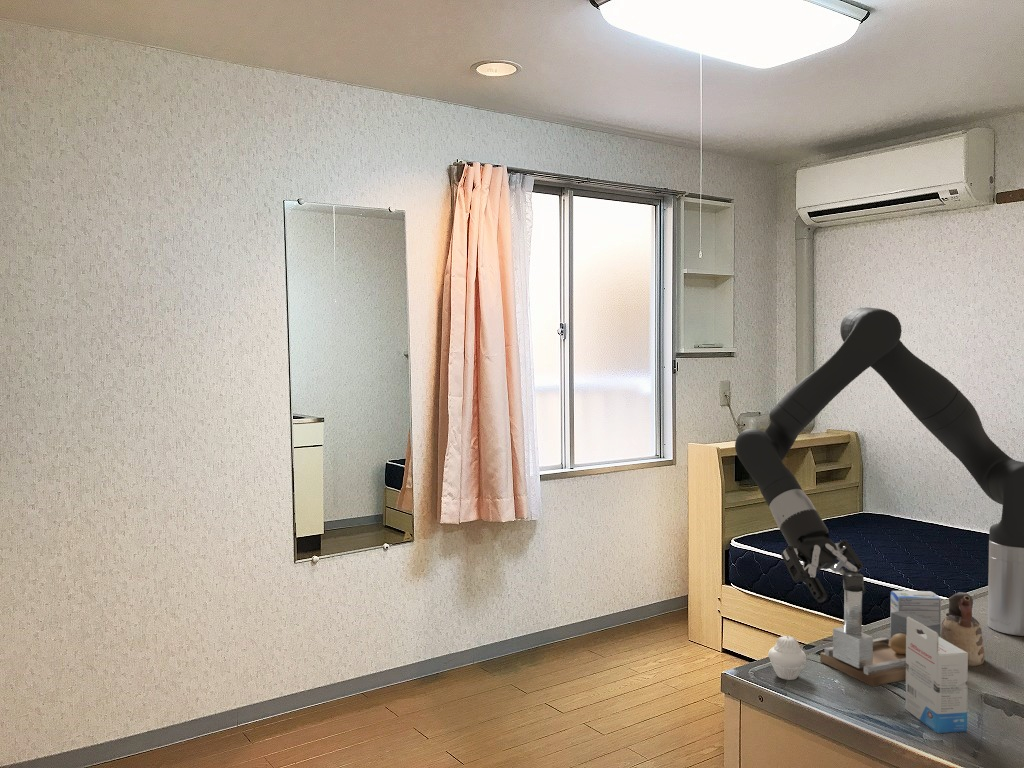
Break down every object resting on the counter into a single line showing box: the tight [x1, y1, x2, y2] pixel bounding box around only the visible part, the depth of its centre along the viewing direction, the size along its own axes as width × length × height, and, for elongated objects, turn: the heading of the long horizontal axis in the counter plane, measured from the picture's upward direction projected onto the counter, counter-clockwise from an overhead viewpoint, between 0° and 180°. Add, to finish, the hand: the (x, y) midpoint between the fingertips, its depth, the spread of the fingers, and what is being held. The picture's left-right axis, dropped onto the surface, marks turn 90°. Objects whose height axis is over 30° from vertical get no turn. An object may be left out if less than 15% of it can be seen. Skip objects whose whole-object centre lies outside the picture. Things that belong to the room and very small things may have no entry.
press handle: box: [832, 572, 874, 669], centre depth 143 cm, size 3×6×15 cm, turn 22°
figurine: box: [941, 591, 985, 667], centre depth 149 cm, size 7×7×12 cm
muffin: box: [767, 635, 807, 681], centre depth 141 cm, size 6×6×7 cm
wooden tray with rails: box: [819, 633, 906, 687], centre depth 146 cm, size 18×12×5 cm, turn 112°
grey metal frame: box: [824, 611, 942, 675], centre depth 146 cm, size 18×10×6 cm, turn 112°
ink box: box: [905, 617, 969, 734], centre depth 124 cm, size 9×5×15 cm, turn 5°
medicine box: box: [889, 590, 942, 637], centre depth 159 cm, size 8×4×9 cm, turn 84°
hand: (842, 597), depth 145 cm, fingers open, 8 cm apart
